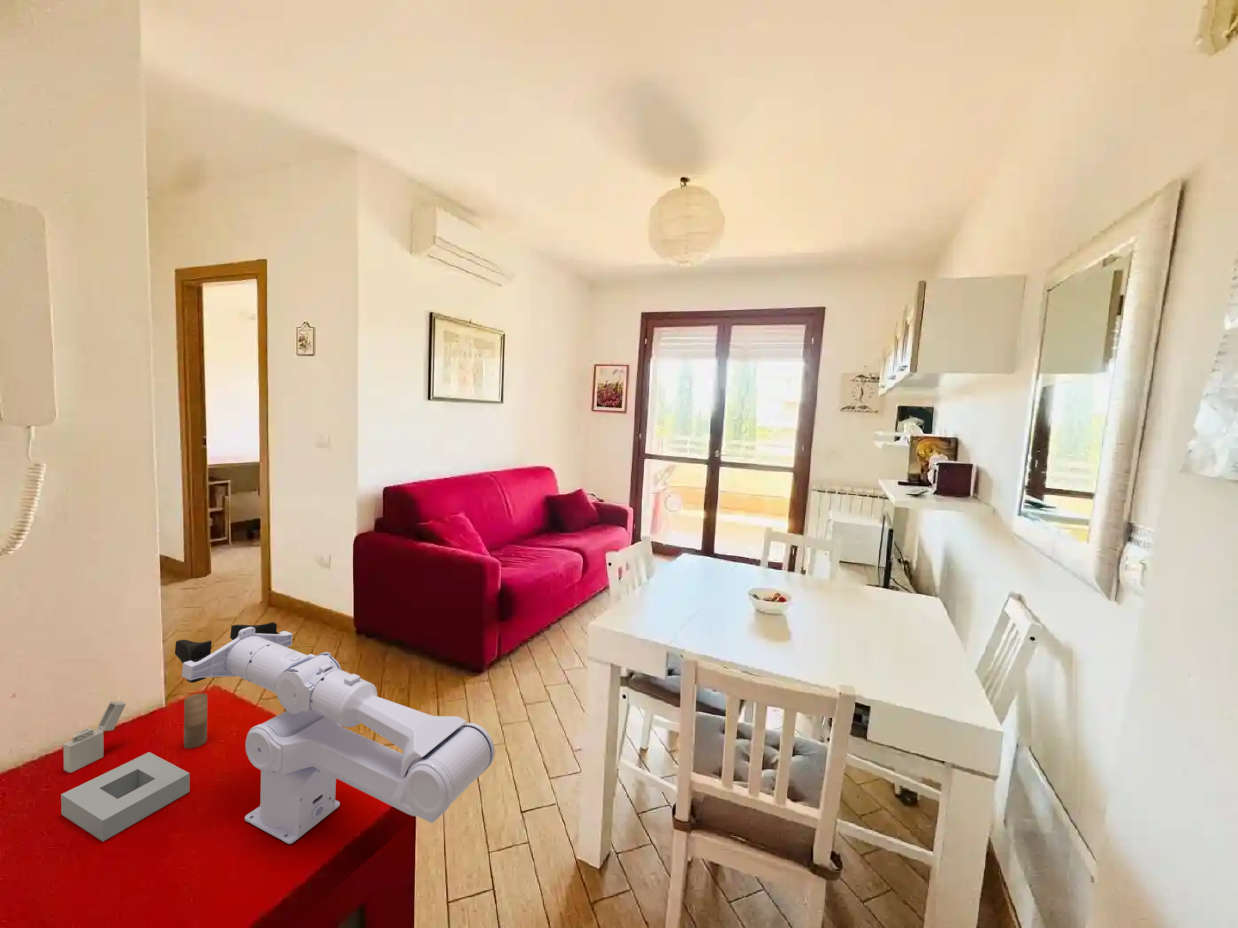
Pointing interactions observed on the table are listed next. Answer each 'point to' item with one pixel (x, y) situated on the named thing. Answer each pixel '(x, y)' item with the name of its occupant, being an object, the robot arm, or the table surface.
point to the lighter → (91, 740)
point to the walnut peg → (195, 720)
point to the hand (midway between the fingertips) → (206, 638)
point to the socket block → (110, 815)
